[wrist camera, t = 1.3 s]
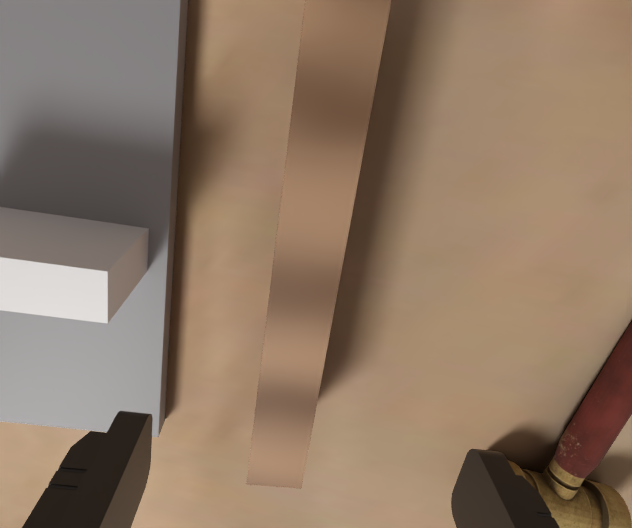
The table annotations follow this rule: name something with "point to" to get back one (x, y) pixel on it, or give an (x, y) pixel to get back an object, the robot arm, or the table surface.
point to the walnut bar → (313, 225)
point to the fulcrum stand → (88, 207)
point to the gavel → (590, 451)
